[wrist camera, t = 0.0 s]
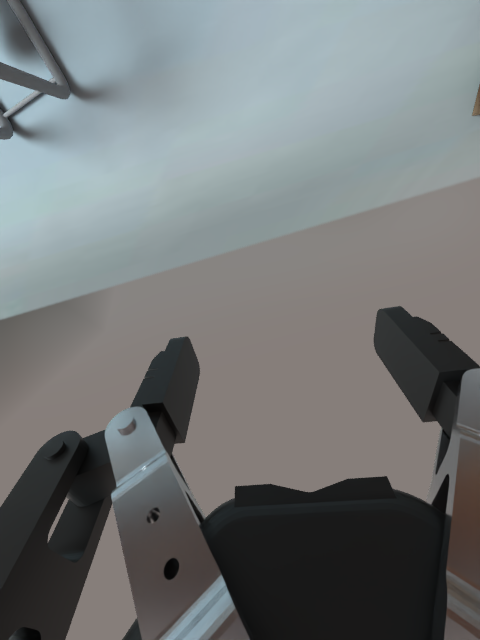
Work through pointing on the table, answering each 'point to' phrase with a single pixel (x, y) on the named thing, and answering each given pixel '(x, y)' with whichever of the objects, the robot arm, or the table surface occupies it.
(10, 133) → the newton's cradle
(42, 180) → the table surface
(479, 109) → the tray
